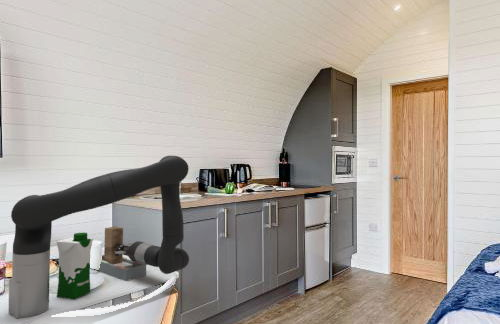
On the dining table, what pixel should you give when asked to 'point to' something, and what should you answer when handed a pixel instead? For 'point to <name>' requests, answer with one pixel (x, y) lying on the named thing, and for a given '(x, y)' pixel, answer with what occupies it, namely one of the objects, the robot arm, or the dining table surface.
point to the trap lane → (123, 269)
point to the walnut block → (113, 244)
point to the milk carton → (74, 266)
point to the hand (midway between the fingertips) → (117, 246)
